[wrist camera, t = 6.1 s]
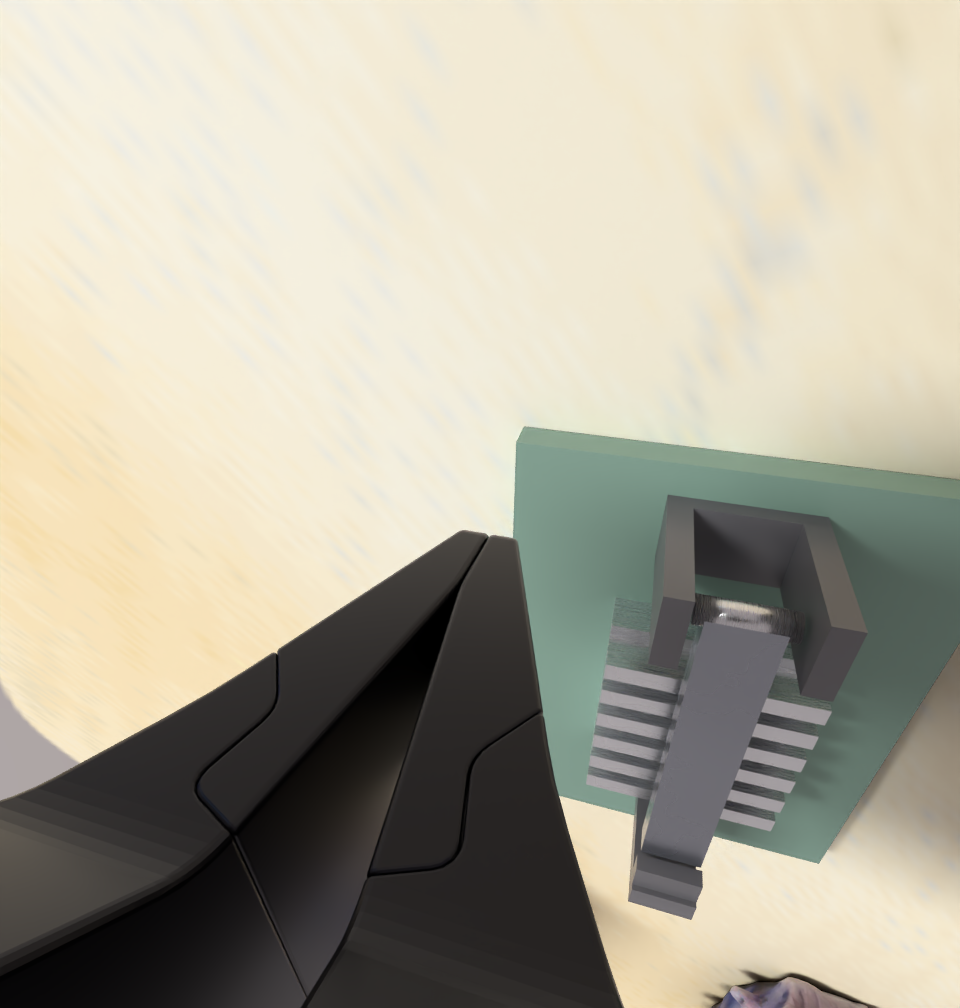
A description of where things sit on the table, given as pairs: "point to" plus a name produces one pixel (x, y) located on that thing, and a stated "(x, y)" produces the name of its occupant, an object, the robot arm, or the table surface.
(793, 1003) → the cell model
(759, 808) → the heatsink
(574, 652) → the board
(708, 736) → the strap
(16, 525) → the table surface
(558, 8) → the table surface
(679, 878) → the lug
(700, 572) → the pivot mount
